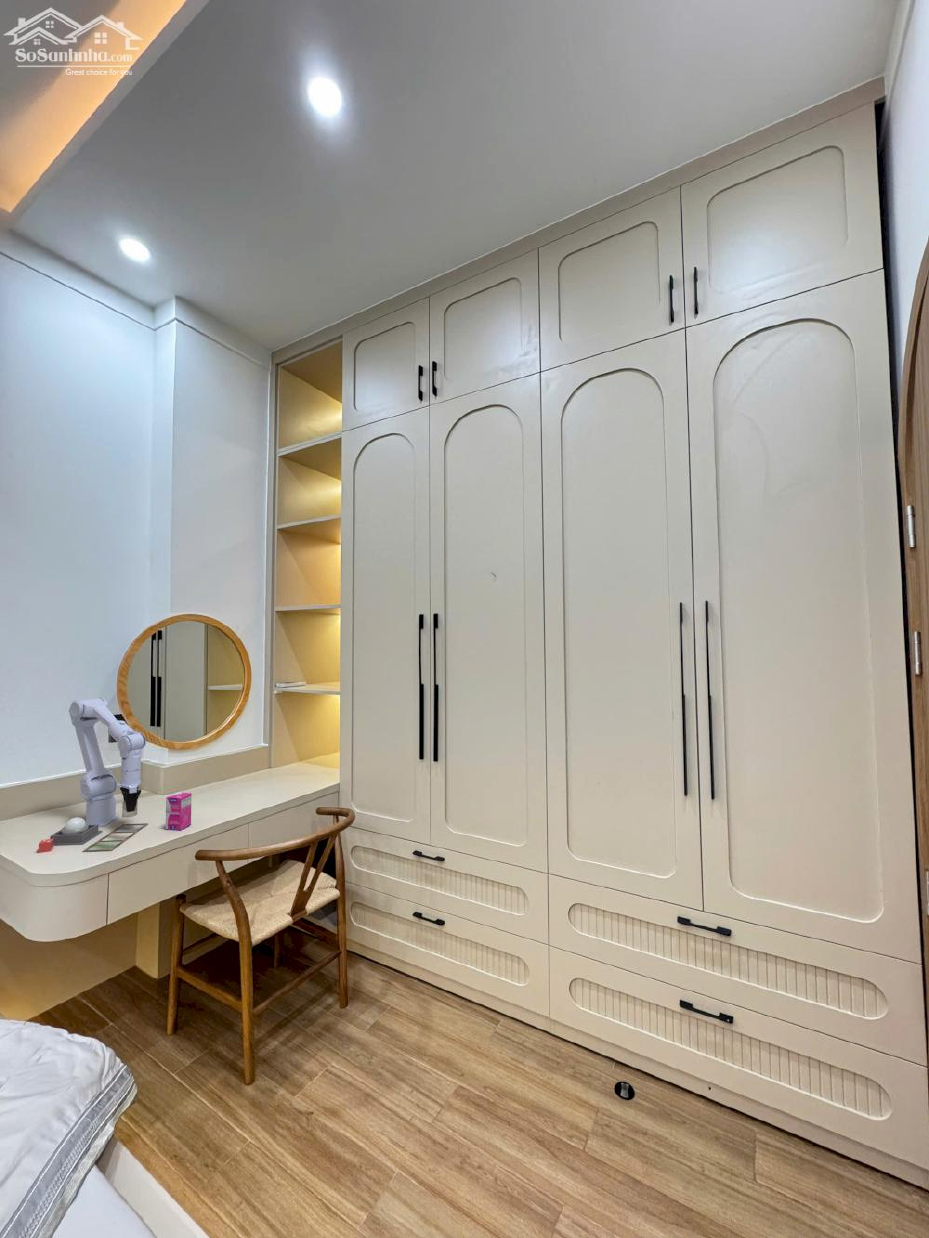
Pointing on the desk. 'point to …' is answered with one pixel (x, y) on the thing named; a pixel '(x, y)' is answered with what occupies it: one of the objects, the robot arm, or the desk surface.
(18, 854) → the desk surface
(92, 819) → the robot arm
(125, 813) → the pawn
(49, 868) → the desk surface
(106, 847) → the compartment tray
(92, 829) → the popper base
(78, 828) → the dome
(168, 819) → the supplement box
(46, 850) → the red die
